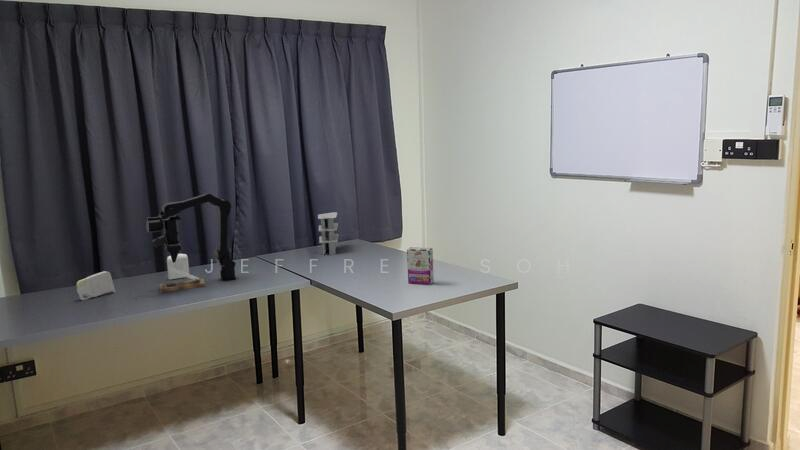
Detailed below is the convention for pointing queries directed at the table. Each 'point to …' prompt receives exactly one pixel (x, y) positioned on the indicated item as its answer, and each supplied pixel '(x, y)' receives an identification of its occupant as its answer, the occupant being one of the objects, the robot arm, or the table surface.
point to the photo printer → (178, 266)
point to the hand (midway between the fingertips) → (174, 262)
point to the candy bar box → (420, 265)
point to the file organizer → (328, 232)
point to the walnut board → (182, 285)
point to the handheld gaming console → (95, 285)
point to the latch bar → (183, 273)
